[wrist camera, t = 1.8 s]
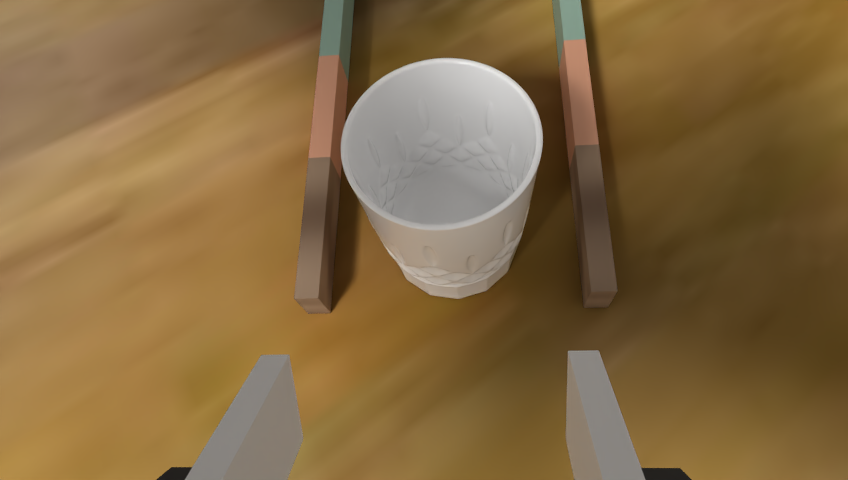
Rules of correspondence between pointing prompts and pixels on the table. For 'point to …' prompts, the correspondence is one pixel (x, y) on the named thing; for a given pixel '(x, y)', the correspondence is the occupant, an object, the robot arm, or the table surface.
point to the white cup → (445, 170)
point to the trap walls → (335, 87)
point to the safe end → (341, 22)
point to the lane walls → (323, 220)
